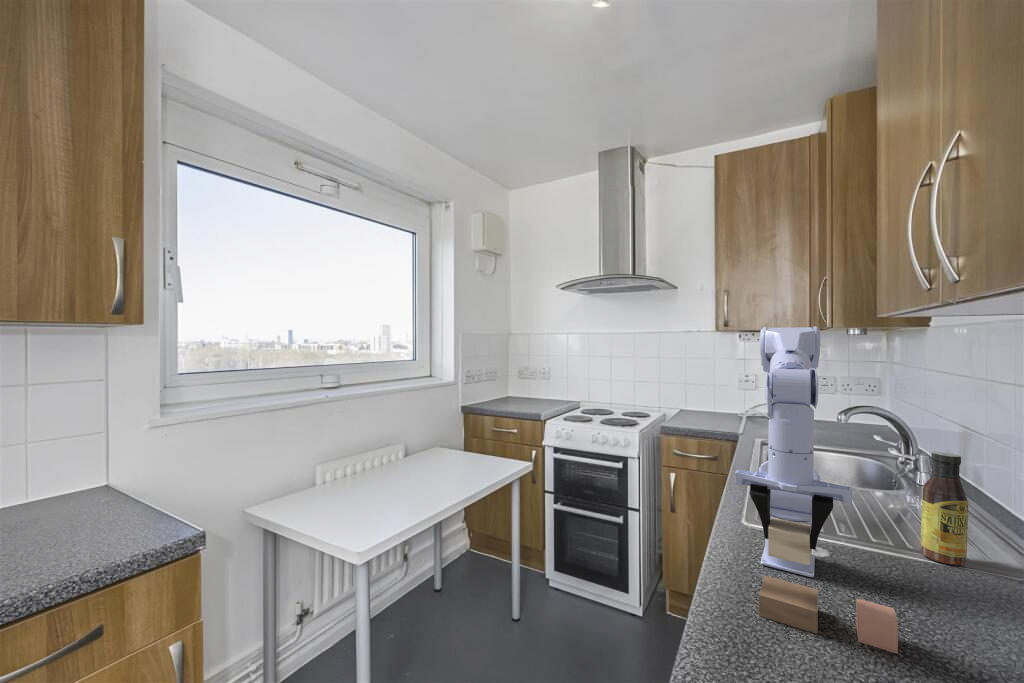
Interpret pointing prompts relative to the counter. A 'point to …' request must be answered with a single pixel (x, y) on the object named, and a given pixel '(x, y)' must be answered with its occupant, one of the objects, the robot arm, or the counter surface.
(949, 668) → the counter surface
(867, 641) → the terracotta block
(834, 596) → the counter surface
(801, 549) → the maple block
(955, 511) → the sauce bottle
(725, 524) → the counter surface
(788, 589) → the walnut base
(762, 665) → the counter surface
